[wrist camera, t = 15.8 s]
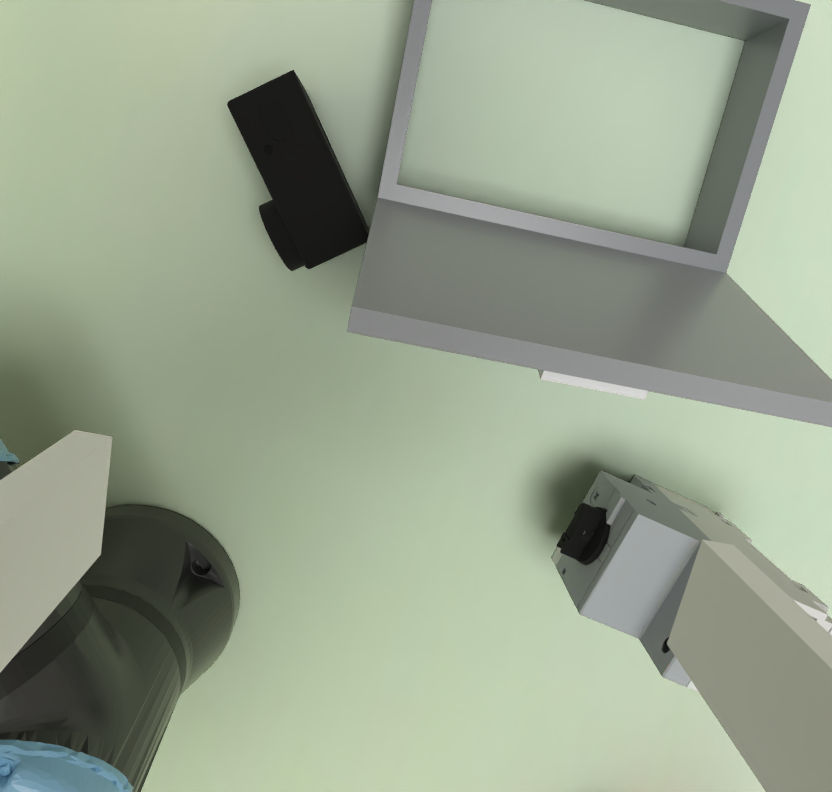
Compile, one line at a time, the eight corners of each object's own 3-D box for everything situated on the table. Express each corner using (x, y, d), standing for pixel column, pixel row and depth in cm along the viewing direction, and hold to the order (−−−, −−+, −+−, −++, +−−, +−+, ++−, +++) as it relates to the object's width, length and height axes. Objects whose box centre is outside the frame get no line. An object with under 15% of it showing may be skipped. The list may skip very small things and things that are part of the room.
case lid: (377, 197, 41) (371, 231, 42) (351, 306, 28) (343, 352, 29) (726, 273, 43) (711, 303, 45) (859, 408, 30) (833, 447, 31)
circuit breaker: (565, 443, 51) (637, 531, 37) (721, 514, 53) (846, 623, 39) (520, 525, 53) (572, 640, 38) (673, 590, 55) (777, 723, 40)
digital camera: (232, 126, 45) (205, 109, 38) (306, 90, 44) (292, 67, 37) (302, 270, 47) (289, 278, 40) (372, 238, 47) (371, 240, 40)
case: (378, 199, 46) (377, 197, 41) (426, -59, 42) (431, -95, 37) (691, 267, 48) (726, 273, 43) (764, 28, 44) (810, 4, 40)
